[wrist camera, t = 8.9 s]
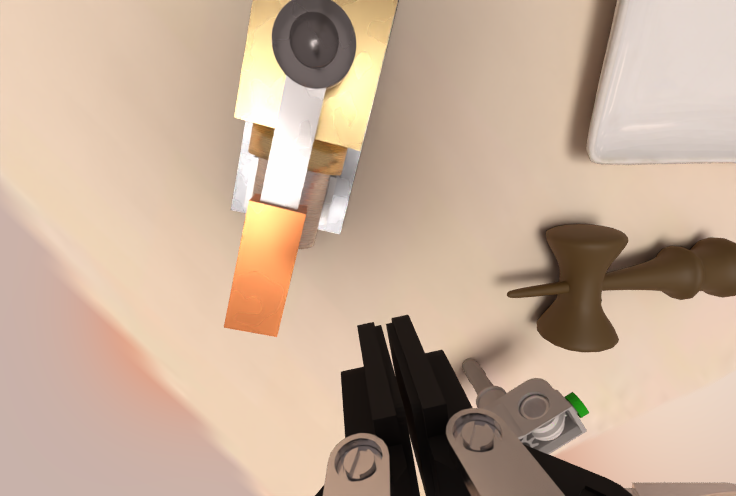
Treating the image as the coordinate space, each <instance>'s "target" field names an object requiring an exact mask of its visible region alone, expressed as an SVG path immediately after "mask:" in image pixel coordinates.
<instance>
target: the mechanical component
mask: <svg viewBox="0 0 736 496" xmlns="http://www.w3.org/2000/svg"><path fill="white" fill-rule="evenodd" d="M462 367H463V370H464V372H465V374H466V376H467V378H468V380H469V381H470V383H471V384H472V385H473V387H474V389H475V391H476V393H477V395H478V396H477V399H476V405H477V407H478V408H481V409H485V410H488V411H491V412H493V413H495V414H496V415H498V416H499V417H500V418H501V419H502V420H503V421H504V422H505V423H506V424H507V425H508V426H509V428H510V429H511V430H512V431H513V433H514V434H515V435H516V436H517V437H518V439H519V440H520V441H521V442H522V444H524V445H527V446H529V447H532V448H534V449H536V450H539V451H541V452H544V453H546V454H550V453H552V452H553V451H555V450H557V449H558V448H560V447H562V446H563V445H565V444H566V443H568V442H570V441H571V440H573V439H575V438H576V437H578V436H580V435H581V434H583V433H585V432H586V431H587V430H586V429H585V427H584V425H583V424H582V422H581V420H580V419H579V417H580V418H582V417H583V416H585V415H587V414H588V413H589V411H588V410H587V408H586V407H585V405H584V404H583V403H582V401H581V400H580V399H579V398H578V397H577V396H576V395H575V394H574V393H573V392H572V393H570V394H568V395H567V396H565V398H564V397H563V396H562V395H561V394H560V392H559V391H558V390H554V389H553V388H552V387H551V385H550V384H549V383H548V382H547V381H545V380H543V379H539V378H534V379H530V380H527V381H526V382H524V383H522V384H521V385H519V386H518V387H516V388H514V389H513V390H511V391H510V392H508V393H506V392H505V390H504V389H502V388H501V387H498V386H494V385H493V384H492V383H491V382H490V380H489V379H488V378H487V376H486V374H485V372H484V371H483V369H482V368H481V366H480V365H479V364H478V363H477V361H475V360H474V359H473V358H470V359H467V360H465V361H464V362H463V364H462ZM578 416H579V417H578ZM556 437H557V438H556ZM552 439H553V440H552ZM548 440H549V441H548Z"/></svg>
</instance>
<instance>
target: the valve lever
mask: <svg viewBox="0 0 736 496" xmlns="http://www.w3.org/2000/svg"><path fill="white" fill-rule="evenodd" d="M272 48H273V53H274V56H275V59H276V61H277V63H278V65H279V66H280V68H281V69H282V71H283V72H284V74H285V75H286V78H285V82H284V87H283V92H282V97H281V102H280V107H279V112H278V117H277V121H276V126H275V131H274V136H273V141H272V146H271V151H270V155H269V160H268V165H267V170H266V175H265V180H264V185H263V190H262V194H257V193H256V194H255V195H254V196H253V197H252V198H251V199H250V200H249V202H248V207H247V212H246V218H245V223H244V228H243V233H242V238H241V243H240V248H239V253H238V258H237V263H236V268H235V273H234V278H233V284H232V289H231V294H230V299H229V304H228V309H227V314H226V319H225V324H224V328H230V329H235V330H241V331H247V332H252V333H258V334H263V335H269V336H274V337H277V334H278V330H279V326H280V322H281V318H282V314H283V309H284V305H285V301H286V297H287V293H288V289H289V284H290V280H291V276H292V272H293V268H294V264H295V260H296V255H297V251H298V247H299V243H300V239H301V235H302V230H303V226H304V222H305V218H306V214H307V207H308V206H305V205H301V204H299V203H300V198H301V194H302V190H303V186H304V181H305V177H306V173H307V169H308V164H309V160H310V156H311V151H312V147H313V143H314V139H315V134H316V130H317V126H318V121H319V117H320V113H321V109H322V104H323V100H324V96H325V92H326V90H328V89H331V88H333V87H335V86H336V85H338V84H339V83H340V82H341V81H342V80H343V79H344V78H345V77H346V75H347V74H348V72H349V70H350V68H351V66H352V64H353V61H354V58H355V54H356V35H355V31H354V27H353V25H352V23H351V20H350V19H349V17H348V15H347V14H346V13H345V11H344V10H343V9H342V8H341V7H340V6H339V5H338V4H336V3H335V2H334V1H332V0H291V1H290V2H288V3H287V4H286V5H285V6H284V7H283V8H282V9H281V10H280V12H279V13H278V15H277V17H276V19H275V22H274V25H273V28H272Z"/></svg>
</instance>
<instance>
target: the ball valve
mask: <svg viewBox="0 0 736 496" xmlns="http://www.w3.org/2000/svg"><path fill="white" fill-rule="evenodd" d="M290 1H291V0H253V2H252V8H251V14H250V21H249V27H248V33H247V39H246V46H245V52H244V58H243V65H242V71H241V77H240V84H239V90H238V96H237V102H236V109H235V115H234V117H235V118H239V119H242V120H246V122H245V128H244V134H243V140H242V146H241V152H240V158H239V164H238V170H237V176H236V182H235V188H234V194H233V200H232V206H231V210H233V211H238V212H242V213H246V212H247V207H248V202H249V200H250V199H251V198H252V197H253V196H254V195H255V194H256V193H257V194H262V190H263V185H264V180H265V175H266V170H267V165H268V160H269V155H270V151H271V146H272V141H273V136H274V131H275V126H276V121H277V117H278V112H279V107H280V102H281V97H282V92H283V87H284V82H285V78H286V75H285V74H284V72H283V71H282V69H281V68H280V66H279V65H278V63H277V61H276V59H275V56H274V53H273V48H272V28H273V25H274V22H275V19H276V17H277V15H278V13H279V12H280V10H281V9H282V8H283V7H284V6H285V5H286V4H287V3H288V2H290ZM332 1H334V2H335V3H336V4H338V5H339V6H340V7H341V8H342V9H343V10H344V11H345V13H346V14H347V15H348V17H349V19H350V20H351V23H352V25H353V27H354V31H355V35H356V54H355V58H354V61H353V64H352V66H351V68H350V70H349V72H348V74H347V75H346V77H345V78H344V79H343V80H342V81H341V82H340V83H339V84H338V85H336V86H335V87H333V88H331V89H328V90H326V92H325V96H324V100H323V104H322V109H321V113H320V117H319V121H318V126H317V130H316V134H315V139H314V143H313V147H312V151H311V156H310V160H309V164H308V169H307V173H306V177H305V181H304V186H303V190H302V194H301V198H300V203H299V204H301V205H305V206H308V207H307V214H306V218H305V222H304V226H303V230H302V235H301V239H300V243H299V247H298V249H306V248H310V247H312V246H313V245H314V243H315V238H316V234H317V230H323V231H327V232H332V233H336V234H340V233H341V229H342V225H343V221H344V217H345V213H346V209H347V205H348V201H349V197H350V193H351V189H352V185H353V181H354V177H355V173H356V169H357V165H358V161H359V157H360V153H361V149H362V145H363V141H364V137H365V133H366V129H367V125H368V121H369V117H370V114H371V110H372V106H373V102H374V98H375V94H376V90H377V86H378V82H379V78H380V74H381V70H382V66H383V62H384V58H385V54H386V50H387V46H388V42H389V38H390V34H391V30H392V26H393V22H394V18H395V14H396V10H397V6H398V2H399V0H332Z"/></svg>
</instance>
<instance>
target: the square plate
mask: <svg viewBox="0 0 736 496" xmlns="http://www.w3.org/2000/svg"><path fill="white" fill-rule="evenodd" d="M586 150H587V153H588V156H589V158H590V160H591V161H592V162H594V163H598V164H610V165H613V164H615V165H635V164H638V165H640V164H686V163H736V0H617V3H616V8H615V13H614V17H613V22H612V27H611V32H610V36H609V40H608V45H607V49H606V53H605V58H604V62H603V66H602V70H601V75H600V79H599V84H598V88H597V93H596V98H595V104H594V109H593V114H592V118H591V123H590V127H589V133H588V139H587V145H586Z"/></svg>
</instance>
